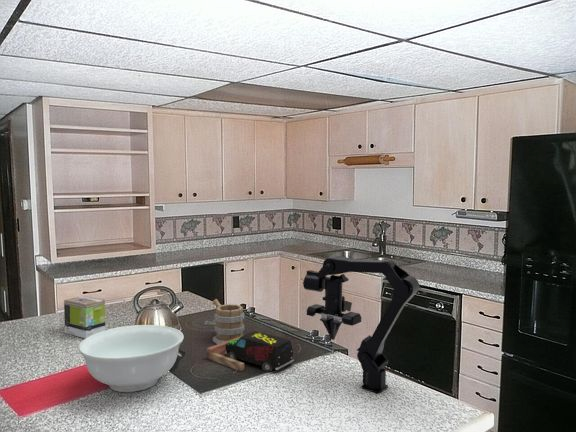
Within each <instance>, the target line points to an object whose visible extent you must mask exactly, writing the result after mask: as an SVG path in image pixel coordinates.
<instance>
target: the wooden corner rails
mask: <svg viewBox="0 0 576 432" xmlns="http://www.w3.org/2000/svg"><path fill="white" fill-rule="evenodd" d="M240 337H242V336H240ZM240 337H237V338H234V339H231V340H229V341H226V342H223V343H220V344H214V345H212V346H209V347H207V348H206V359H208V360H210V361H213V362H214V363H218V364H220V365H223V366H225V367H228V368H231V369H233V370H236V371H238V372H243V371H245V362H242V361H239V360H238V359H237V360H234V359H231V358H228V356H225V355H227V354H226V344H227V343H228V342H230V341H233V340H235V339H238V338H240Z"/></svg>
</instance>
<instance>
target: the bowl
mask: <svg viewBox="0 0 576 432" xmlns="http://www.w3.org/2000/svg"><path fill="white" fill-rule="evenodd" d="M183 341H184V334H183V332H182V331H181V330H179V329H177V328H174V327H170V326H165V325H158V324H135V325H126V326H119V327H115V328H110V329H105V331H102V332H99V333H96V334H94V335H91V336H89V337H87V338H86V339H85V338H83V340H82V341H81V342H80V343H79V345H78V352H79V354H80V355H81V356H82V357H83V358H84V362H85V365H86V369H87V371H88V372H89V374H90V375H91V377H93V378H94V379H95V380H96V381H98V382H100V383H102V384H106V385H108V387H109V388H110V389H111V390H113V391H114V392H120V393H134V392H139V391H143V390H144V391H145V390H147V389H149V388H152V387H153V386H155V385H157V383H158V382H159V378H161V377H163V376H164V375H165V374H167V373H168V372H170V370H171V368H173V366H174V365H175V362H176V360H177V358H178V354H179V351H180V350H179V349H180V345H181V344H182V343H183Z"/></svg>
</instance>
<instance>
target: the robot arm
mask: <svg viewBox="0 0 576 432" xmlns="http://www.w3.org/2000/svg"><path fill="white" fill-rule="evenodd" d="M322 263H323V264H322V267H321V268H320V269H319V271H316V270H313V269H312V270H311V269H309V270H306V274H305V276H304V277H303V282H302V286H303V288H304V290H307V291H313V292H318V293H322V292H323V291H324V296H323V297H322V301H324V305H322V304H317V303H315V304H313V305H310V306H308V307H307V308H306V316H310V317H315V316H316V314H318V315H321V318H320V319H319V321H320V322H322V324H323V326H324V327H325V329H326V332H327V333H328V336H329V338H330V340H332V341H334V340H336V337H337V334H338V331H339V329H340V327H341V325H342V324H344V325H348V326H355V325H357V324H360V323H362V315H361V313H359V312H354V311H351V310H352V306H353V305H352V304H353V302H352V301H348V300H346V298H345V296H344V295H343V284H344V283H347V282H348V281H349V278H348V277H347V276H346V275H345V274H346V273H369V274H370V273H371V274H372V273H373V274H382V275H383V276H384V277H385V278H386V280H387V282H388V283H389V285H390V286H391V287H392V288H393V289H392V293H391V301H390V303H389V304H388V306H387V308H386V310H385V312H384V313H383V315H382V317H381V319H380V321H379V322H378V324H377V327H376V328H375V330H374V332H373V333H372V335H370V334H369V335H368V336H366V337H365V338H363V339H362V340H361V343H360V346H359V347H358V348H356V351H357V354H356V357H357V359H358V362H359V363H360V366H361V370H362V384H361V386H360V388H361V389H364V390H368V391H370V392H373V393H376V394H380V393H381V392H382V391H384V390H386V389H387V388H388V386H389V385H388V384H387V383H386V381H387V380H386V379H387V378H386V377H387V375H386V373H387V369H386V368H385V367H387V365H388V363H389V359H388V358H387V356H385V355H384V354H383V350H384V346H385V342H386V339H387V338H388V335H389V334H390V332H391V330H392V328H393V327H394V325H395V324H396V321H397V319H398V318H399V317H400V314H401V313H402V310H403V309H404V307H405V306H406V304H408V303H409V301H411V299H413V297H414V296H415V295H416V294H417V293H418V292H419V290H420V286H421V285H420V283H419V280H418V279H417V277H414V276H411V275H410V274H409V273H408V272H407V271H406V270H404V269H403V268H402V267H400V266H399V265H397V263H396V262H395V261H393V260H392V259H386V260H385V259H384V260H383V259H354V258H353V259H352V258H349V257H346V256H342V255H333V256H330V257H327V258H325V259H324V261H323V262H322ZM346 312H347V313H346Z"/></svg>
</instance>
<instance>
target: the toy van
mask: <svg viewBox="0 0 576 432" xmlns="http://www.w3.org/2000/svg"><path fill="white" fill-rule="evenodd" d="M293 349H294V347H293V345H292V341H291V340H290V339H288V338H284V337H280V336H277V335H273V334H269V333H265V332H261V331H257V330H255V331H251V332H246V333H245V334H244V335H243V336H242V337H240V338H238V339H235V340H233V341H230V342H228V343H227V344H226V354H225V355H227V357H228V358H231V359H234V360H237V361H238V359H239V360H242V361H245V362H247V363H252V364H255V365H258V366H260V367H261V368H262V371H266V372H269V371H270V372H273V370H275V371H278V370H280V369H283V368H285V367H286V366H288V365H290V364H292V363H293V362H294V359H293V356H294V350H293Z"/></svg>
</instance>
